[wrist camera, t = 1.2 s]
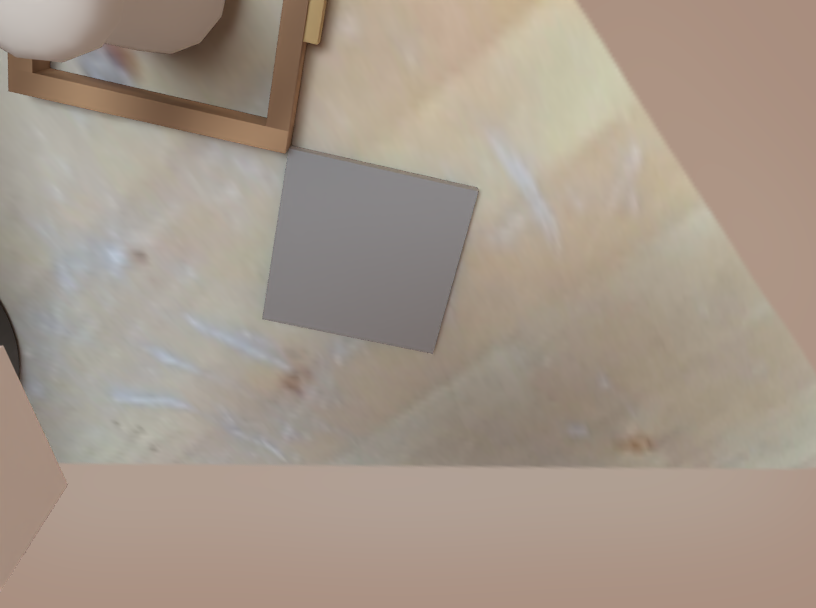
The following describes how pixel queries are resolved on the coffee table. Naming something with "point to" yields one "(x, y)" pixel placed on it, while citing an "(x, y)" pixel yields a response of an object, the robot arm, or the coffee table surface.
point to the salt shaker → (103, 26)
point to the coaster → (365, 249)
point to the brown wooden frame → (271, 133)
